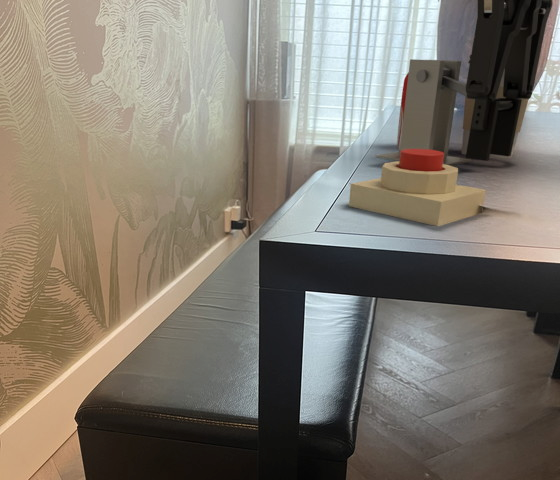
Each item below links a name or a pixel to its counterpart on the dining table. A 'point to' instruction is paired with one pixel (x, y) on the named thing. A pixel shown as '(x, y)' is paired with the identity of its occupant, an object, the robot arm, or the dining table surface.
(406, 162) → the button
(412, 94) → the bracket
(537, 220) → the dining table surface
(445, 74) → the lever
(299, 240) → the dining table surface
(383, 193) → the button block
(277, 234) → the dining table surface
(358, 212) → the dining table surface
